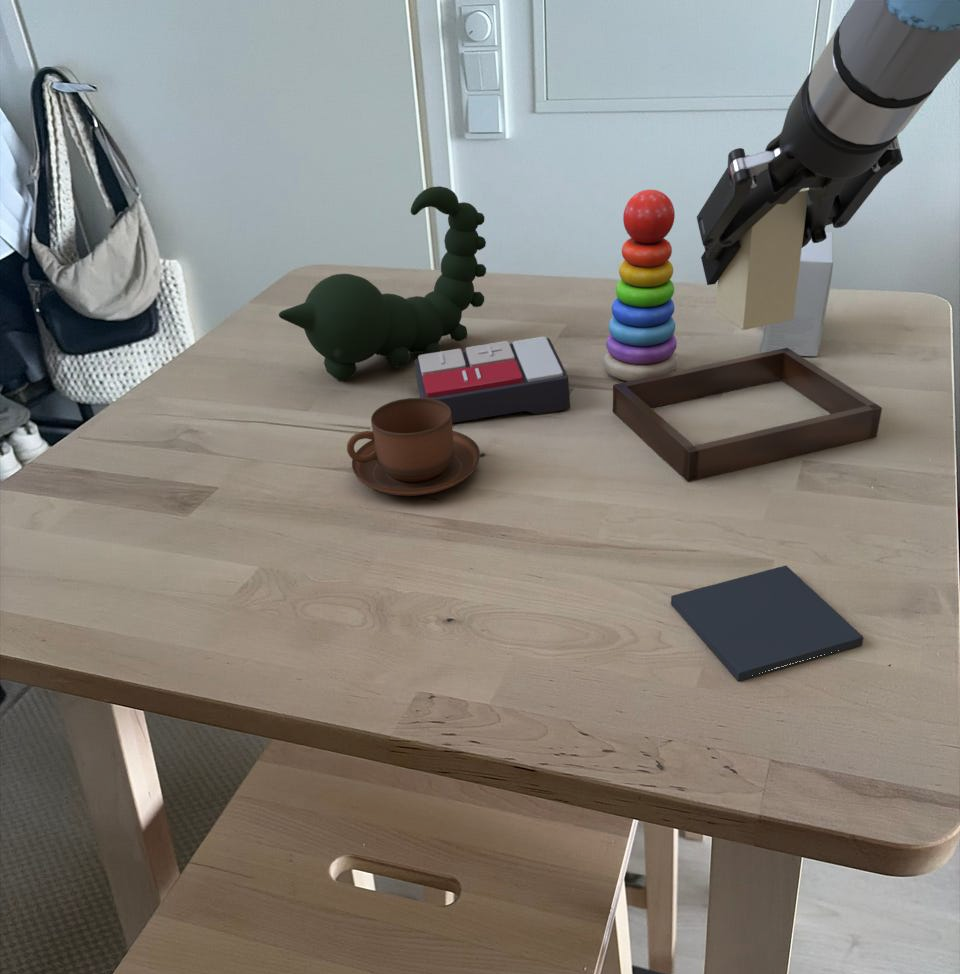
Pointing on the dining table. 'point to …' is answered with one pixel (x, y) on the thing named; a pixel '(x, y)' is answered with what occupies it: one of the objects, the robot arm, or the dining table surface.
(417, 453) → the cup and saucer
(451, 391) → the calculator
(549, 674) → the dining table surface
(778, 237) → the block
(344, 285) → the toy figurine
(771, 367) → the wooden frame
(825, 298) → the cosmetics box
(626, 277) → the stacking toy
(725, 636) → the mat
